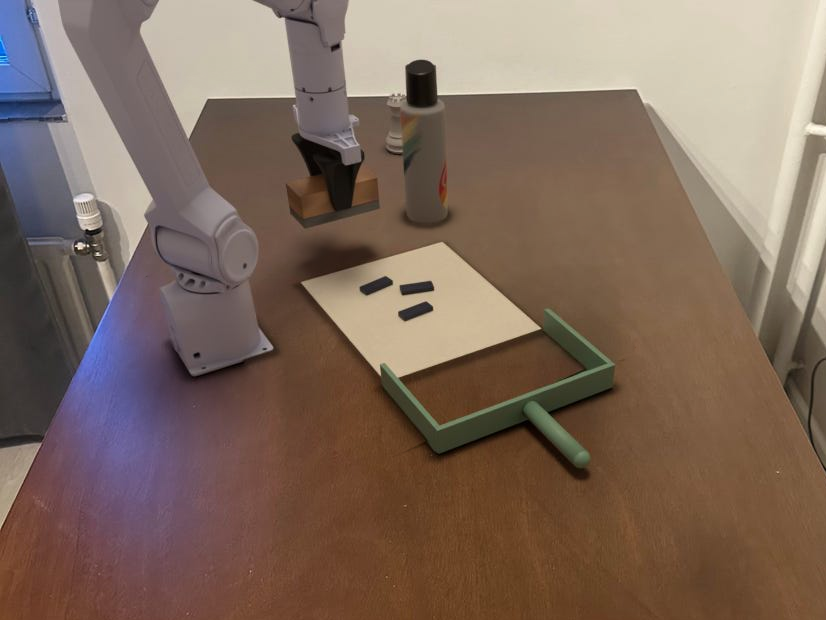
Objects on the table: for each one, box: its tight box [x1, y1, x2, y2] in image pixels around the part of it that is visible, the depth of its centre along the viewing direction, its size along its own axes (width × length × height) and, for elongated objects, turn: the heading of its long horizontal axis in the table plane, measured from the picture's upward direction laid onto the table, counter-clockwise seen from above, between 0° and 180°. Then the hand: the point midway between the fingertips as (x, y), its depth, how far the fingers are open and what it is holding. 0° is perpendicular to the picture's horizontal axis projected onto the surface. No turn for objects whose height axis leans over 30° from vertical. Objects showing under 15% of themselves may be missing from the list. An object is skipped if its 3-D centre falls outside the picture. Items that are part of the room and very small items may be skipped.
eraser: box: [285, 163, 381, 229], centre depth 108 cm, size 10×4×4 cm, turn 121°
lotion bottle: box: [400, 59, 449, 224], centre depth 116 cm, size 6×6×20 cm
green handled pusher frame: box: [380, 307, 616, 469], centre depth 91 cm, size 22×21×3 cm
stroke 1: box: [359, 276, 393, 295], centre depth 109 cm, size 4×2×1 cm, turn 130°
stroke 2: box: [399, 281, 434, 295], centre depth 108 cm, size 4×2×1 cm, turn 106°
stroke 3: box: [398, 301, 433, 321], centre depth 105 cm, size 4×2×1 cm, turn 126°
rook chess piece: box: [385, 92, 407, 155], centre depth 136 cm, size 4×4×8 cm
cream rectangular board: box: [300, 241, 542, 379], centre depth 106 cm, size 20×24×1 cm
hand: (334, 200), depth 108 cm, fingers closed on eraser, 4 cm apart
